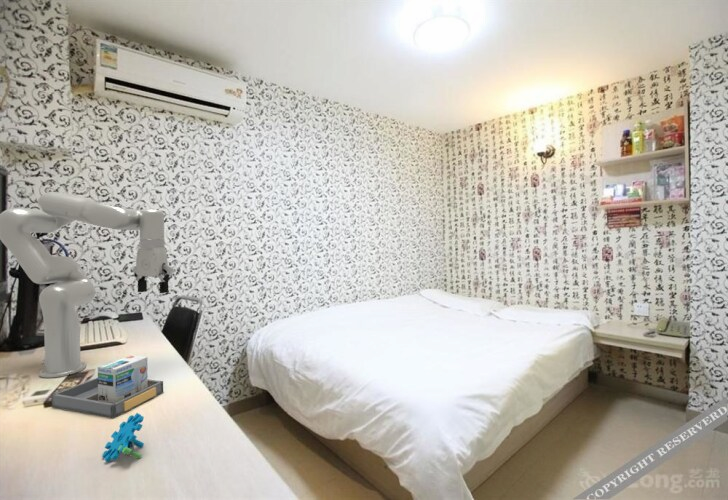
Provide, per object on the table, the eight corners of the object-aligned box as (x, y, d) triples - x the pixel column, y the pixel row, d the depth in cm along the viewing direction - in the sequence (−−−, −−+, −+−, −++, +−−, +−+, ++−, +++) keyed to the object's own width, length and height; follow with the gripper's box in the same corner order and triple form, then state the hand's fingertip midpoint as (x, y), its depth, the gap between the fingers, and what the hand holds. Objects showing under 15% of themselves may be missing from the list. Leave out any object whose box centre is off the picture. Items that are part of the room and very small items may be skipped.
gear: (100, 440, 79) (137, 403, 82) (123, 450, 82) (158, 414, 85) (98, 474, 70) (139, 431, 73) (123, 484, 73) (162, 442, 76)
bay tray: (52, 407, 97) (51, 394, 97) (107, 384, 113) (107, 373, 113) (114, 418, 91) (114, 405, 91) (164, 392, 107) (164, 381, 107)
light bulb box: (115, 408, 95) (114, 369, 95) (96, 405, 97) (96, 366, 96) (149, 391, 105) (148, 356, 105) (131, 389, 107) (130, 354, 107)
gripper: (123, 244, 122) (124, 292, 123) (163, 244, 118) (163, 294, 118) (142, 244, 129) (143, 289, 130) (180, 244, 125) (181, 291, 125)
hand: (153, 292), depth 124 cm, fingers open, 9 cm apart
